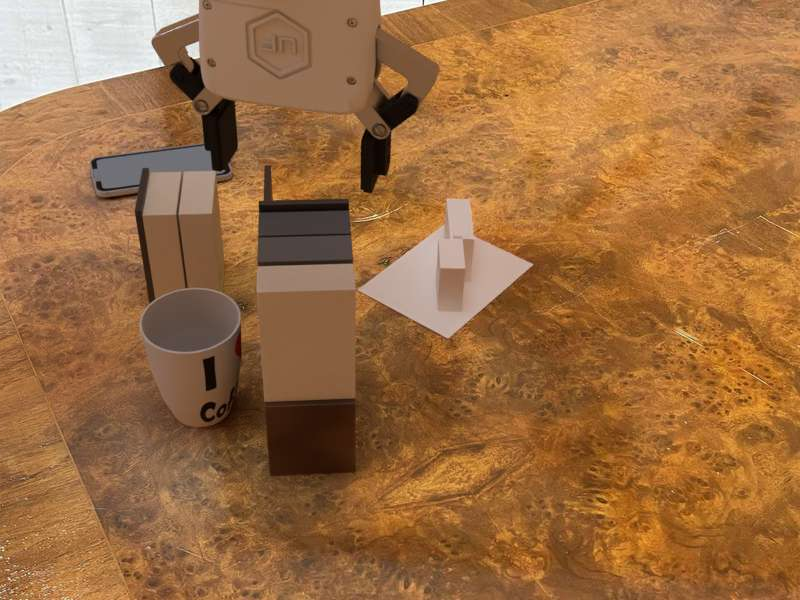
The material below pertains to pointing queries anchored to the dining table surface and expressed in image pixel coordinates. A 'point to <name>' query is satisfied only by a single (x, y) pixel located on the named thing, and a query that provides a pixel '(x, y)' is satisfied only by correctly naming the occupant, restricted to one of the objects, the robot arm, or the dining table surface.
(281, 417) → the dark brown box
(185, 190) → the slotted desk organizer
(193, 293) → the cup
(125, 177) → the smartphone
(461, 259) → the napkin holder
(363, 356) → the dining table surface
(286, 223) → the grey books
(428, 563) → the dining table surface
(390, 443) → the dining table surface
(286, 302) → the tan rectangular block
